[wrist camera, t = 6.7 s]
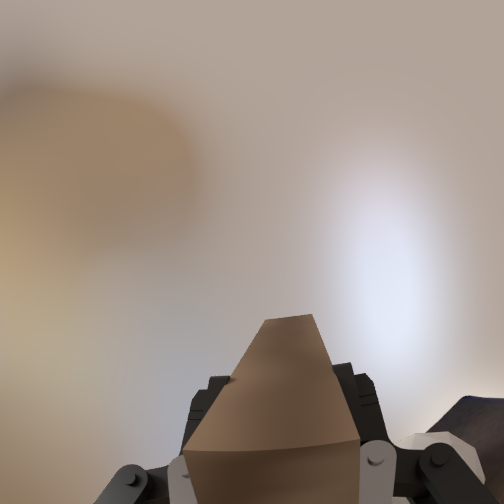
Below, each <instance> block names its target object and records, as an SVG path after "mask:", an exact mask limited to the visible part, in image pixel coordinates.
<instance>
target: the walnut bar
mask: <svg viewBox="0 0 504 504" xmlns="http://www.w3.org/2000/svg"><path fill="white" fill-rule="evenodd" d="M230 377H231V378H230V380H229V381H228V383H227V384H226V385H225V386H224V387H223V389H222V390H221V392H220V394H219V395H218V397H217V398H216V400H215V401H214V403H213V404H212V406H211V407H210V409H209V410H208V412H207V414H206V415H205V417H204V418H203V420H202V421H201V423H200V424H199V426H198V427H197V429H196V430H195V432H194V433H193V435H192V436H191V438H190V439H189V441H188V442H187V444H186V445H185V446H184V448H183V449H182V451H183V455H184V459H185V462H186V466H187V470H188V473H189V477H190V480H191V483H192V487H193V490H194V493H195V497H196V500H197V503H198V504H359V486H360V437H359V434H358V431H357V429H356V426H355V423H354V421H353V418H352V415H351V413H350V410H349V407H348V405H347V402H346V399H345V397H344V394H343V392H342V389H341V386H340V384H339V381H338V379H337V376H336V374H334V372H333V369H332V364H331V361H330V358H329V356H328V353H327V351H326V348H325V346H324V343H323V340H322V338H321V336H320V333H319V331H318V328H317V326H316V323H315V321H314V318H313V316H312V314H308V315H301V316H293V317H285V318H277V319H269V320H265V321H264V323H263V324H262V326H261V328H260V329H259V331H258V333H257V334H256V336H255V338H254V339H253V341H252V343H251V344H250V346H249V347H248V349H247V351H246V352H245V354H244V356H243V357H242V359H241V360H240V362H239V364H238V365H237V367H236V368H235V370H234V372H233V373H232V375H231V376H230Z"/></svg>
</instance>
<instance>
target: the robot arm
mask: <svg viewBox="0 0 504 504" xmlns="http://www.w3.org/2000/svg"><path fill="white" fill-rule="evenodd" d="M332 369H333V372H334V374H336V376H337V379H338V381H339V384H340V386H341V389H342V392H343V394H344V397H345V399H346V402H347V405H348V407H349V410H350V413H351V415H352V418H353V421H354V423H355V426H356V429H357V431H358V434H359V437H360V486H359V504H392V497H406V498H407V500H408V501H409V503H410V504H499V503H498V502H497V501H496V499H495V498H494V497H493V496H492V494H491V493H490V492H489V491H488V489H487V488H486V487H485V486H484V485H483V483H482V482H481V481H480V480H479V478H478V477H477V476H476V475H475V473H474V472H473V471H472V470H471V469H470V467H469V466H468V465H467V464H466V462H465V461H464V460H463V459H462V458H461V456H460V455H459V454H458V453H457V452H456V450H455V449H454V448H453V447H452V446H450V445H449V444H447V443H441V442H439V443H434V444H431V445H429V446H428V447H426V448H425V449H424V450H413V449H403V448H400V447H397V446H396V445H394V444H393V443H392V442H391V441H390V439H389V438H388V435H387V431H386V427H385V423H384V420H383V416H382V412H381V409H380V405H379V401H378V397H377V395H376V390H375V387H374V383H373V381H372V380H371V379H370V378H369V377H368V376H367V375H366V373H363V374H358V375H354V373H353V369H352V365H351V363H350V362H349V363H343V364H337V365H332ZM230 378H231V377H230V376H214V377H210V380H209V384H208V389H207V390H199V391H198V392H197V394H196V395H195V396H194V398H193V399H192V402H191V406H190V412H189V415H188V421H187V424H186V428H185V433H184V437H183V442H182V446H181V451H180V454H179V456H178V457H176V458H175V459H173V460H172V461H171V463H170V464H169V465H167V466H164V467H161V468H155V469H150V470H144V469H143V468H141V467H140V466H138V465H134V464H133V465H132V464H131V465H126V466H123V467H122V468H120V469H119V470H118V471H117V473H116V474H115V475H114V477H113V478H112V479H111V481H110V482H109V484H108V485H107V486H106V488H105V489H104V490H103V492H102V493H101V494H100V496H99V497H98V499H97V500H96V501H95V503H94V504H198V503H197V500H196V497H195V493H194V490H193V487H192V483H191V480H190V477H189V473H188V470H187V466H186V462H185V459H184V455H183V451H182V449H183V448H184V446H185V445H186V444H187V442H188V441H189V439H190V438H191V436H192V435H193V433H194V432H195V430H196V429H197V427H198V426H199V424H200V423H201V421H202V420H203V418H204V417H205V415H206V414H207V412H208V410H209V409H210V407H211V406H212V404H213V403H214V401H215V400H216V398H217V397H218V395H219V394H220V392H221V390H222V389H223V387H224V386H225V385H226V384H227V383H228V381H229V380H230Z"/></svg>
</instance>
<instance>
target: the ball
mask: <svg viewBox="0 0 504 504" xmlns="http://www.w3.org/2000/svg"><path fill="white" fill-rule="evenodd" d="M439 442H441V443H447V444H449V445H450V446H452V447H453V448H454V449H455V450H456V452H457V453H458V454H459V455H460V456H461V458H462V459H463V460H464V461H465V462H466V464H467V465H468V466H469V467H470V469H471V470H472V471H473V472H474V473H475V475H476V476H477V477H478V478H479V480H480V481H481V482H482V483H483V485H484V482H485V477H484V473H483V470H482V467H481V464H480V461H479V458H478V455H477V453H476V450H475V448H474V447H472V446H470V445H469V444H467V443H465V442H464V441H462V440H460V439H459V438H457V437H456V436H454V435H452V434H451V433H449V432H436V433H417V434H413V435H411V436H409V437H407V438H404V439H402V440H400V441H398V442H395V443H393V444H394V445H396V446H397V447H400V448H403V449H413V450H424V449H425V448H426V447H428V446H429V445H431V444H434V443H439ZM392 504H410V503H409V501H408V500H407V498H406V497H392Z"/></svg>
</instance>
